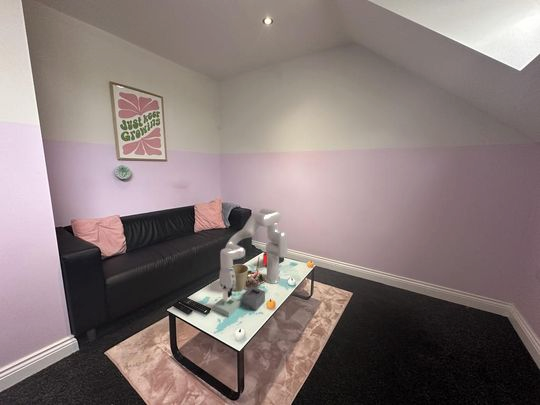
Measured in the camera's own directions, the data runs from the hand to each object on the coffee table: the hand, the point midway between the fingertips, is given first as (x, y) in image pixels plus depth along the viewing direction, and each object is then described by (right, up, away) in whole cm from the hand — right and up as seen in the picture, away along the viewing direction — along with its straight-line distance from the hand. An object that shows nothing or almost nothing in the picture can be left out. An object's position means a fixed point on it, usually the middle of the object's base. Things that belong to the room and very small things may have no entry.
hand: (227, 294), depth 131 cm
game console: (+31, +1, +62) cm, 69 cm away
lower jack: (0, -9, +2) cm, 9 cm away
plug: (0, -3, +1) cm, 3 cm away
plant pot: (+3, -6, +22) cm, 23 cm away
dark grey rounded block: (+16, -8, +6) cm, 19 cm away
